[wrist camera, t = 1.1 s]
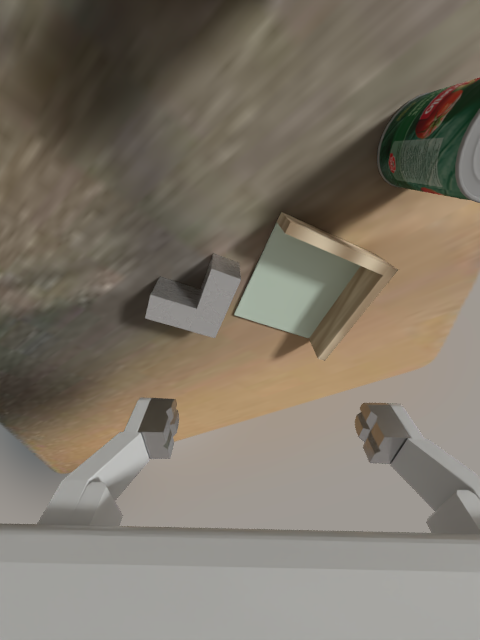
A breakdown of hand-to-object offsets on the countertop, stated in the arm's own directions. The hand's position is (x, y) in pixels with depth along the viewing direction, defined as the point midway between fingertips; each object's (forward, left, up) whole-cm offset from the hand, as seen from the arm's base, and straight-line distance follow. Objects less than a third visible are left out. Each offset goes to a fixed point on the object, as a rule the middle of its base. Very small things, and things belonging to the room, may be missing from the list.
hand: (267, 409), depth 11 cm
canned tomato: (+13, +16, -24) cm, 32 cm away
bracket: (-4, -7, -24) cm, 25 cm away
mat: (+10, -2, -24) cm, 26 cm away
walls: (+10, -2, -24) cm, 26 cm away
